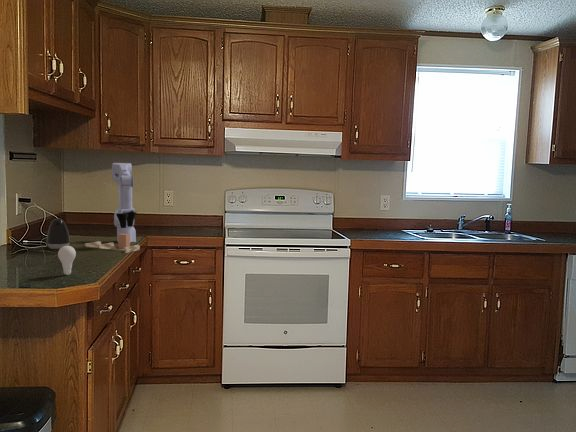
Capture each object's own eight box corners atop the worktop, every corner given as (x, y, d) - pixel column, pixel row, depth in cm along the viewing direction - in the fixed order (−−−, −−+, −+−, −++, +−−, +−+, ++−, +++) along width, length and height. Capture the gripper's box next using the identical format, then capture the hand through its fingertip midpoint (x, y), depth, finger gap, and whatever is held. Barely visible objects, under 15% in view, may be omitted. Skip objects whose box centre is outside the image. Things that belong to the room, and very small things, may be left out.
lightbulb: (75, 272, 191) (74, 244, 190) (77, 276, 186) (76, 246, 185) (57, 274, 189) (57, 245, 188) (59, 277, 183) (58, 247, 182)
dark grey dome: (46, 252, 235) (45, 219, 234) (47, 248, 245) (46, 217, 243) (69, 251, 239) (69, 219, 238) (70, 247, 249) (69, 217, 247)
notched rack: (99, 246, 255) (99, 241, 255) (139, 249, 246) (139, 244, 246) (84, 248, 246) (84, 243, 246) (125, 252, 237) (125, 247, 236)
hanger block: (122, 247, 245) (122, 233, 245) (130, 248, 245) (130, 233, 244) (118, 248, 241) (118, 234, 241) (126, 249, 241) (125, 234, 240)
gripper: (125, 199, 256) (125, 225, 257) (111, 200, 242) (112, 228, 243) (138, 199, 256) (138, 225, 257) (125, 200, 241) (126, 228, 242)
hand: (126, 227), depth 250 cm, fingers open, 7 cm apart
